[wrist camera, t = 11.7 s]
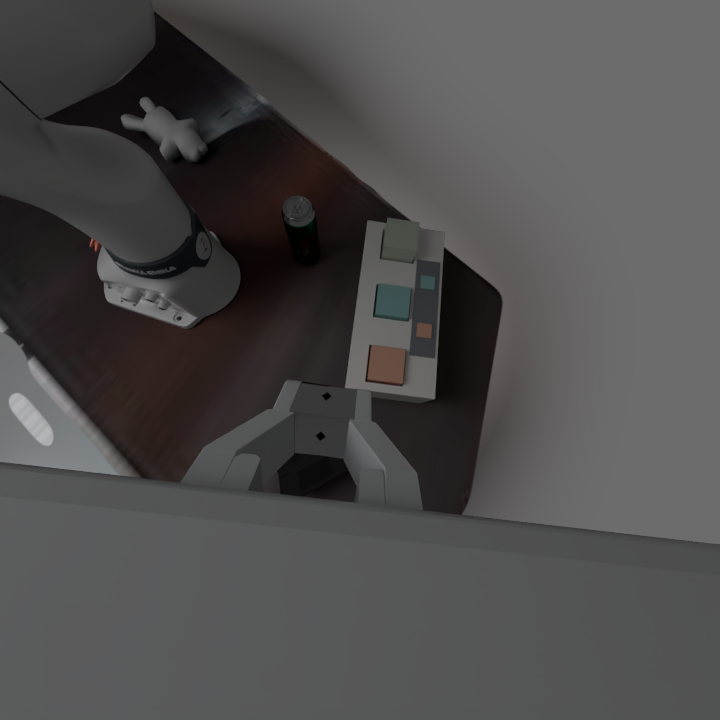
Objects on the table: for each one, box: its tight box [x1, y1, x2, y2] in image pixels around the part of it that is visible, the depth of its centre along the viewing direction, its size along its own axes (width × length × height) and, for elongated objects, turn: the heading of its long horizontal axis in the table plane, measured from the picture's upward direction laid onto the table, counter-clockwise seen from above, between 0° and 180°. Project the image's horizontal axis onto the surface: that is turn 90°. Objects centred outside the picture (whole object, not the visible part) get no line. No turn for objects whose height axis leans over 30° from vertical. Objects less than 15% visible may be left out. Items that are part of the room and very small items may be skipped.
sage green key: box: [381, 218, 419, 264], centre depth 45 cm, size 5×5×4 cm
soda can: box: [282, 196, 320, 266], centre depth 47 cm, size 5×5×12 cm
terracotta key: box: [365, 345, 406, 386], centre depth 42 cm, size 5×5×4 cm
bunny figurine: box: [121, 97, 209, 163], centre depth 54 cm, size 10×5×15 cm
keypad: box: [345, 220, 445, 403], centre depth 47 cm, size 13×28×8 cm, turn 173°
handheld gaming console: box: [277, 453, 349, 497], centre depth 43 cm, size 12×7×10 cm
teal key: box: [373, 283, 411, 322], centre depth 44 cm, size 5×5×4 cm
